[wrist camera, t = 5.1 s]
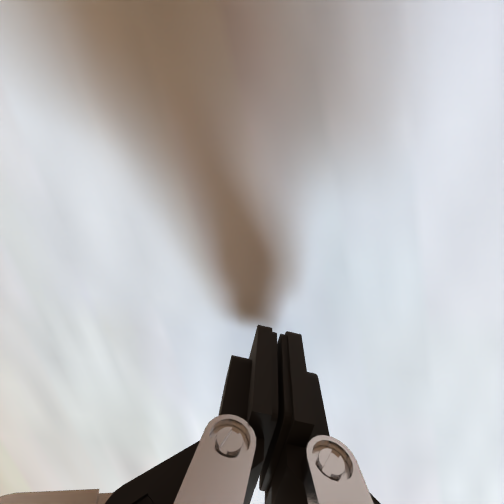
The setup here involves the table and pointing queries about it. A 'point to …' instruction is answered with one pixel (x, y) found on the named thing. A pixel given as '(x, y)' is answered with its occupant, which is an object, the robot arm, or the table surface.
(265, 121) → the table surface
